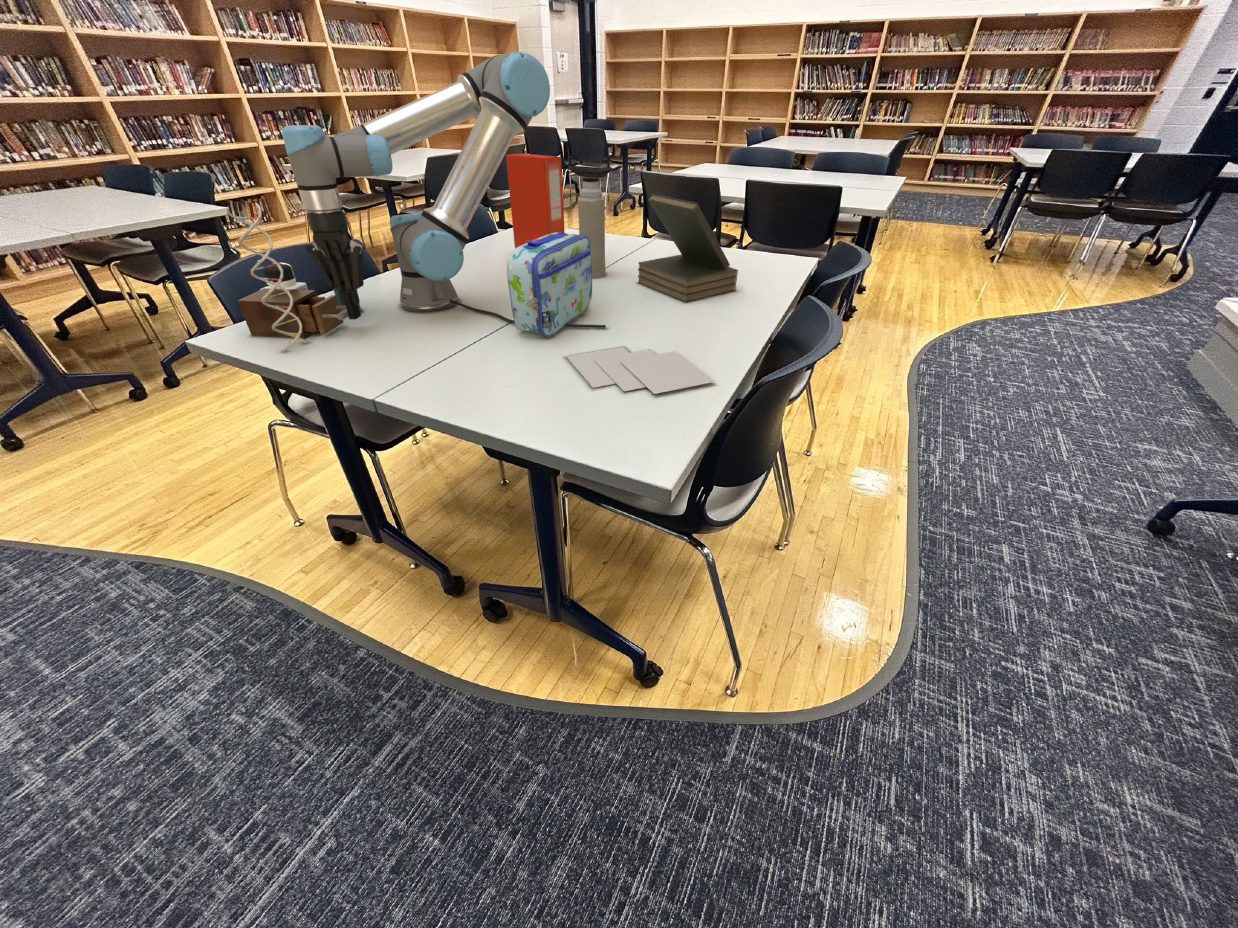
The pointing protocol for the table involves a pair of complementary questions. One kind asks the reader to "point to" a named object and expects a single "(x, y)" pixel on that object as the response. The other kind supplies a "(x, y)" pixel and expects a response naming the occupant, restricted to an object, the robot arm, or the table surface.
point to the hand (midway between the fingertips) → (355, 317)
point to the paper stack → (639, 370)
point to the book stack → (687, 255)
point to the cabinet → (273, 312)
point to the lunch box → (550, 282)
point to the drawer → (321, 314)
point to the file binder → (535, 196)
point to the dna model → (269, 278)
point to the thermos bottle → (593, 222)
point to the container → (288, 277)
